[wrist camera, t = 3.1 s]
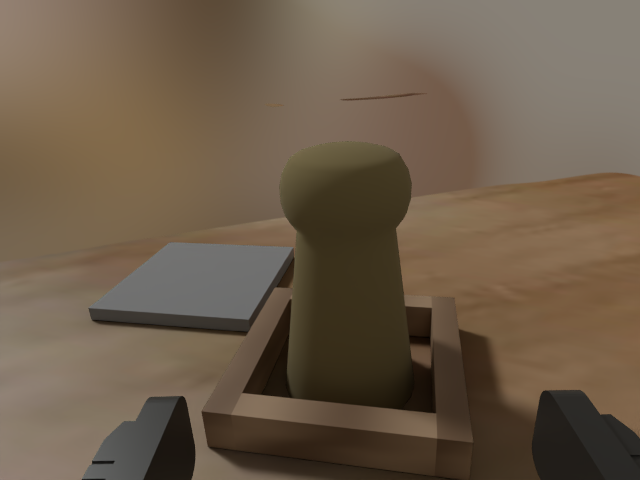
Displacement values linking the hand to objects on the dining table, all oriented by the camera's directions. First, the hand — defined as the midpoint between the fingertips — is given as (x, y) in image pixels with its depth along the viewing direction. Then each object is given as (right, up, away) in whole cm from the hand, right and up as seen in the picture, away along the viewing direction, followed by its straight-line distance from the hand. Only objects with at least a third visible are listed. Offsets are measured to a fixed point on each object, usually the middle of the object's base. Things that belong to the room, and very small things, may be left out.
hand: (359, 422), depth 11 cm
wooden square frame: (0, -2, +12) cm, 12 cm away
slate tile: (-9, +1, +21) cm, 23 cm away
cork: (0, -3, +12) cm, 12 cm away
